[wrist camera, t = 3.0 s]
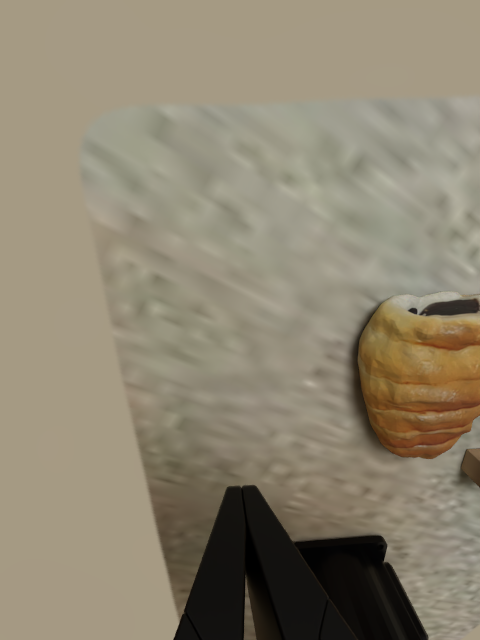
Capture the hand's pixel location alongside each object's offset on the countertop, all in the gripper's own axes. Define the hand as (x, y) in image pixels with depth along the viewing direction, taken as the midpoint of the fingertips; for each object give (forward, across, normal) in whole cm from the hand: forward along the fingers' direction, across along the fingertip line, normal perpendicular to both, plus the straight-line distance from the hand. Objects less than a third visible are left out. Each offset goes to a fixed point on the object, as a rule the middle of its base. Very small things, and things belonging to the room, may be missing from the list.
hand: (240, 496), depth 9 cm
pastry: (+8, -10, 0) cm, 13 cm away
